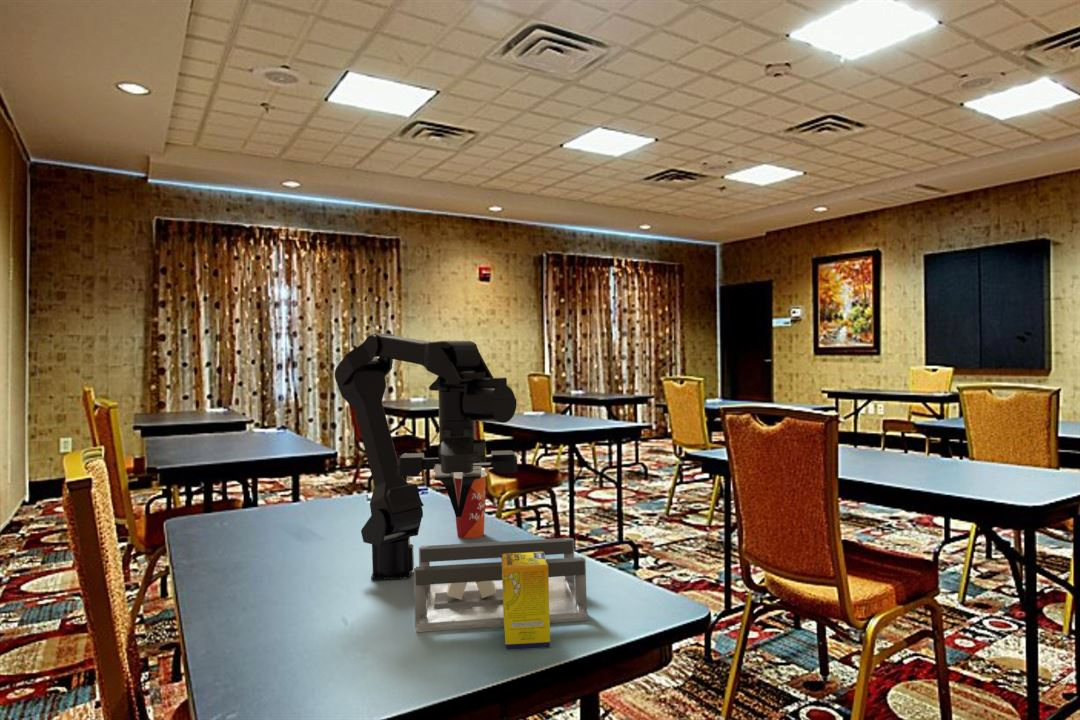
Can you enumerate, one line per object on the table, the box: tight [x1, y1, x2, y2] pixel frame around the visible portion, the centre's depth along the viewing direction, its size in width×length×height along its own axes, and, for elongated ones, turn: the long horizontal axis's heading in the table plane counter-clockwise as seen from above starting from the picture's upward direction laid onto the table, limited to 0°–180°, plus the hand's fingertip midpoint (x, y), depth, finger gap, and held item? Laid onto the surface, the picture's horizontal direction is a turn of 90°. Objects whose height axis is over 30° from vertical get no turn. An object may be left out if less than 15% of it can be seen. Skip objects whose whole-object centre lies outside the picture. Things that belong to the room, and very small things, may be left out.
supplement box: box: [501, 552, 551, 651], centre depth 93 cm, size 6×6×11 cm
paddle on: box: [447, 582, 468, 600], centre depth 105 cm, size 2×3×3 cm, turn 6°
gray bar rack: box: [413, 537, 588, 627], centre depth 106 cm, size 25×13×8 cm, turn 96°
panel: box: [415, 576, 589, 633], centre depth 106 cm, size 24×16×2 cm, turn 96°
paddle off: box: [476, 581, 496, 598], centre depth 106 cm, size 2×3×3 cm, turn 6°
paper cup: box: [454, 468, 488, 540], centre depth 148 cm, size 8×8×14 cm
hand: (458, 516), depth 112 cm, fingers closed
